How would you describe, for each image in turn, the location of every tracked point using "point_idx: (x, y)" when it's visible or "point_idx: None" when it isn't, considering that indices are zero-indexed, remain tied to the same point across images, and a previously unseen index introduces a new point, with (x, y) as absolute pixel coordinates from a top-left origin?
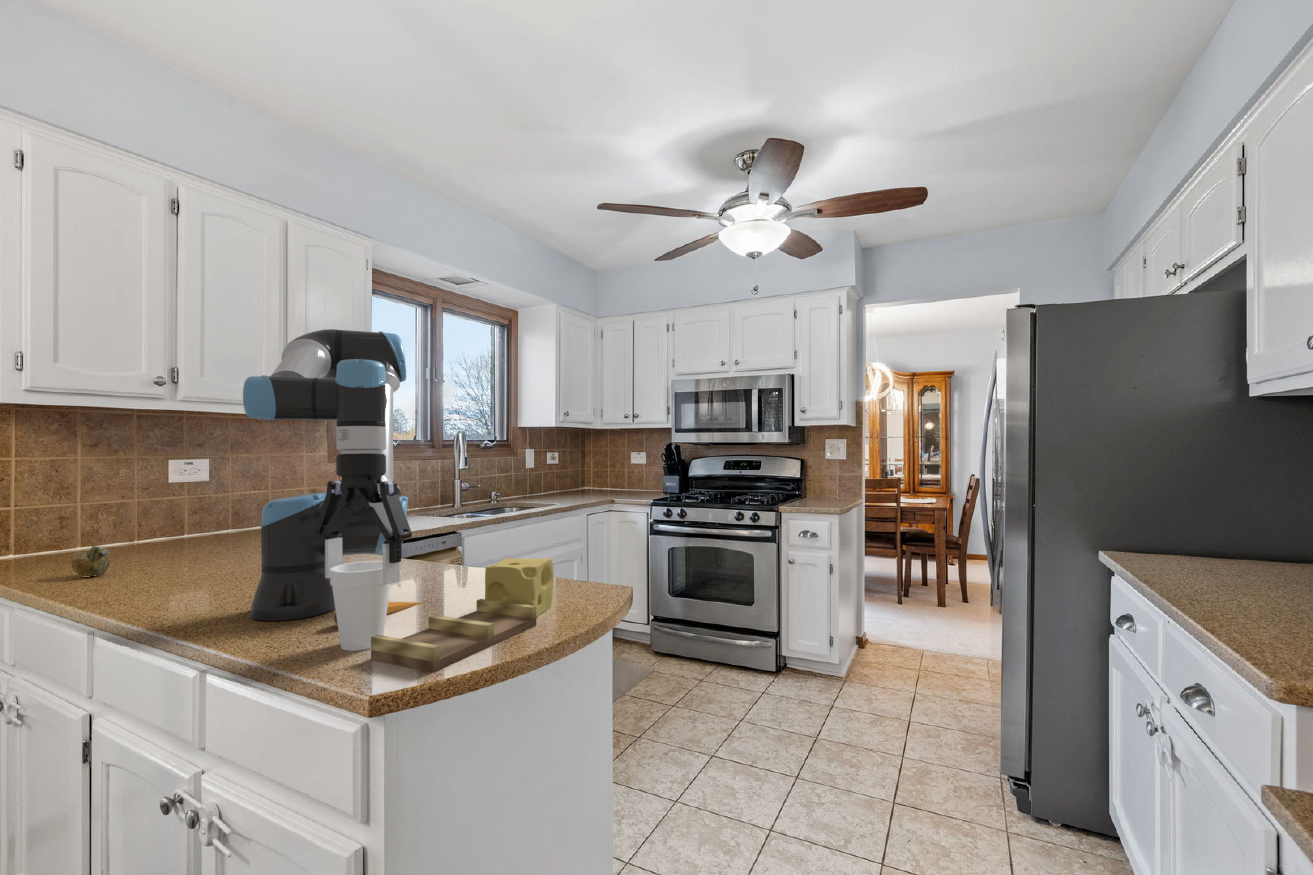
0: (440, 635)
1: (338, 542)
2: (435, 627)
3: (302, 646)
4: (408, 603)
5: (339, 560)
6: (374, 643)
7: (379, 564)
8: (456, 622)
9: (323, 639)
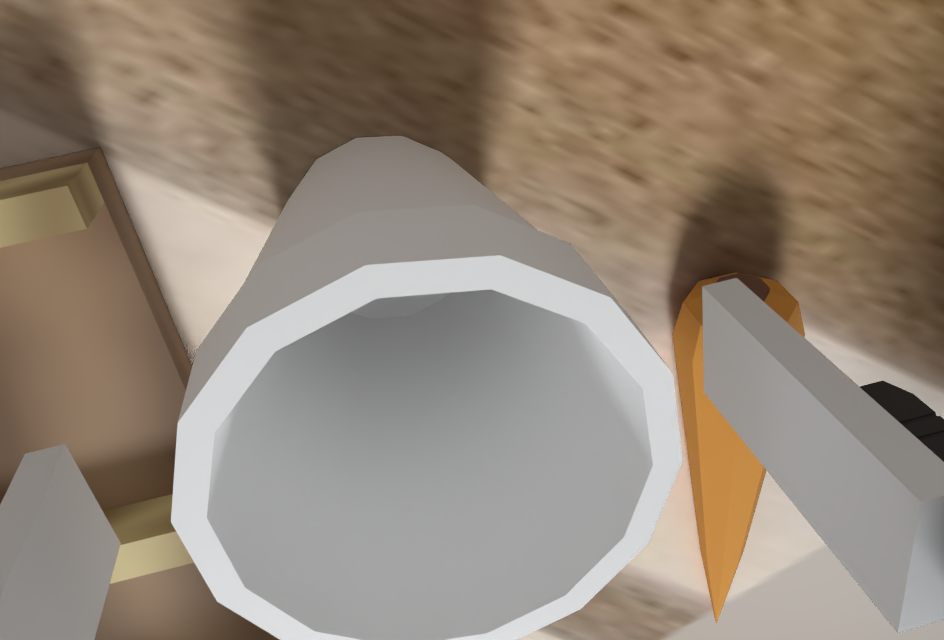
0: None
1: (869, 562)
2: None
3: (612, 28)
4: (714, 580)
5: (764, 446)
6: (48, 180)
7: (495, 608)
8: None
9: (624, 149)
